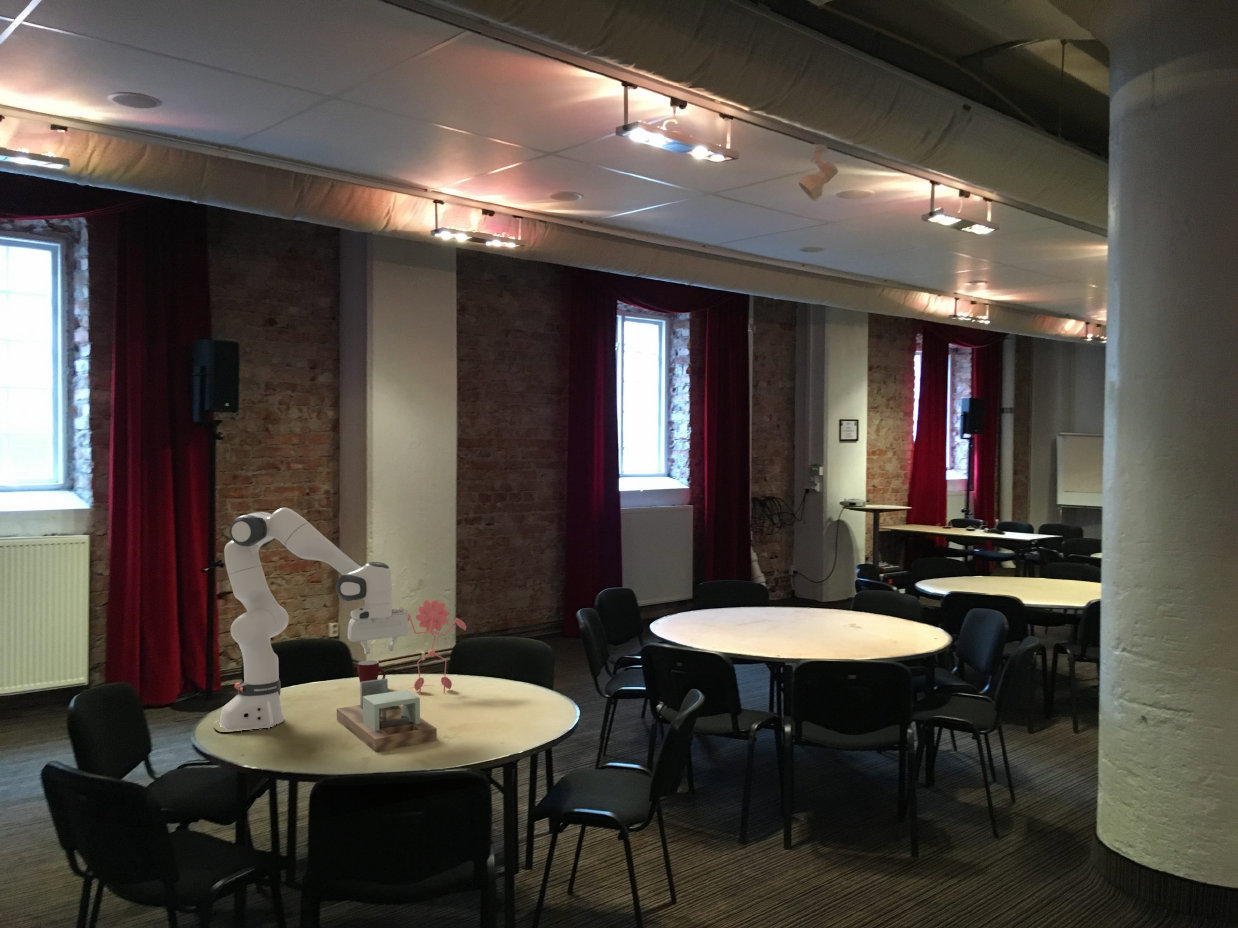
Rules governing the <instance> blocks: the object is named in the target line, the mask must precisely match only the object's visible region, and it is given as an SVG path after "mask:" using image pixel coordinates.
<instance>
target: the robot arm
mask: <svg viewBox="0 0 1238 928" xmlns="http://www.w3.org/2000/svg"><path fill="white" fill-rule="evenodd" d="M228 530H229V537H230V539H231V540H230V541H229V542H227V543H226V544H225V546H224V552H223V553H224V562H225V569H226V571H227V576H228V578H229V582H230V585H231V588H232V589H231V590H232V592H233V596H234V598H235V599H236V600H238V601H240V603H241V604H242V605H243V607H244V608H245V609H246V612H244V613H242V614H240V615H239V616H238V617H236V618H235V619H234V620H233V621H232V624H231V626H230V635H231V637H232V639H233V640H234V642H236V643H237V644H238V646H239V649H240V651H241V656H242V659H243V679H244V681H243V682H241V683H240V682H235V684H234V688H235V689H236V690H237V694H236V695H235V696H234V697H233V698H232V699H231V700H229V702H227V703H226V704H225V705H224V706H223V707H222V709H221V712H220V716H219V717H220V718H219V720H220V723H219V724H220V727H223V728H225V729H227V730H237V729H239V730H240V729H255V728H256V729H257V728H258V729H259V728H268V729H271V728H270V727H272V728H273V727H275V726H276V724H277V725H279V724H282V722H284V721H285V716H284V713H283V710H282V705H281V698H280V696H281V692H282V691H281V680H280V678H279V675H280V673H279V657H278V654H277V653H275V652H274V649H273V647H272V643H271V638H273V637H276V636H278V635H279V634H281V633H282V632H284V630H285V629H286V628H287V627H288V625H289V620H290V619H289V617H290V616H289V614H288V611H287V610H286V609H285V608H284V607H282V605H280V604H279V602H277V600H276V598H275V597H274V595H273V592H271V590H270V587H269V585H268V583H267V579H266V577H265V575H266V574H265V572H264V570H263V566H262V562H261V559H260V555H259V551H260V549H261V548H264V547H267V545H269V544H271V542H274V541H275V540H277V541H278V542H280V543H281V545H283V546H284V547H285V548H286V549H287V550H288V551H289V552H290V553H292V554H293V555H295V556H296V557H297V558H300V559H304V560H314V561H320V562H323V563H326V564H328V565H329V566H331V567H332V568H333V569H334V570H335V571H337V572H338V573H340V574H341V576H340V577H339V578H338V580H337V581H336V584H335V591H336V593H337V595H338V597H339V598H340V599H341V600H343V601H345V602H356V601H358V600H363V601H364V605H362V606H360V607H358V608H355V609H353V610H352V611H350V613H349V614H350V617H351V618H350V620H349V621H348V626H347V639H348V641H349V642H352V643H355V642H360V645H361V646H362V648H363V652H364V655H366V654H367V655H368V654H371V648H370V647H367V643H368V642H367V641H373V640H381V639H383V640H384V639H390V640H391V641H390V643H389V644H387V651H389V652H392V651H394V650H395V649H394V648H395V647H394V646H395V644H396V643H397V641H398V640H397V639H398V637H399V638H400V637H407V636H408V635H409V633H410V627H409V625H410V624H409V621H408V614H409V611H408V610H407V609H405V608H404V607H403V608H395V609H394V608H393V600H392V596H391V595H392V594H391V592H392V573H391V569H390V567H389V565H388V564H386V563H385V562H384V563H383V562H381V561H380V562H379V561H369V562H367V563H365V564H364V565H362V564H360V563H358V562H357V561H356V560H355V559H354V558H352V557H351V556H350V555H349V554H347V553H346V552H345V551H344V550H342V549H341V548H340V547H339V546H337V545H336V544H334V543H333V542H332V541H330V539H328V538H327V537H326V536H324V535H323V534H322V533H321V532H320V531H319V530H318V529H317V528H316V527H315V526H314V525H312V524H311V523H310V522H309V521H308V520H306V519H305V518H304V517H303V516H301V515H300V514H299V513H298V512H296V511H294V510H293V509H291V508H288V507H280V508H278V509H276V510H275V511H273V512H271V511H255V512H251V513H248V514H243V515H240V516H237V517H236V518H235V519H234V520H233V521H231V523H230V525H229V528H228ZM217 721H218V720H216V721H215V722H217ZM259 730H260V729H259Z"/></svg>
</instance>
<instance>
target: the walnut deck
mask: <svg viewBox="0 0 1238 928" xmlns="http://www.w3.org/2000/svg"><path fill="white" fill-rule="evenodd" d="M398 706H399V707H400V708H401V713H403V705H398ZM379 715H380V714H379ZM336 721H337V722H338V723H340V724H341V725H342V726H343V727H344V728H346V730H348V731H349V732H351V734H353V735H354V736H355V737H357V738H358V739H359V740H360V741H362V742H363V743H364V744H365V745H367V747H369V748H370V749H371V750H372V751H374V752H375V753H377V752H383V751H389V750H394V749H400V748H405V747H410V746H415V745H416V746H417V745H421V744H426V743H432V742H437V741H438V736H437V735H438V734H437V733H438V732H437V731H438V729H437V727H435V725H432V724H431V723H429V722H428V721H426V720H424V719H423V718H421V717H420V724H414V723H413V722H411V721H410V723H407V724H401V725H395V726H389V727H383V728H382V727H381V726H380V725H379V731H374V730H372V729H371V728H370V727H369V726H367V725H366V724H365V723H363V709H361V705H360V704H359V705H351V706H345V707H344V706H343V707H339V708H336Z"/></svg>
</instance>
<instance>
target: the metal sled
mask: <svg viewBox="0 0 1238 928" xmlns="http://www.w3.org/2000/svg"><path fill="white" fill-rule="evenodd" d="M388 686H389V685H388V678H386V677H385V679H382V678H379V679H378V680H371V681H363V682H360V681H359V687H360V688H359V692H360V693H359V694H360V704H359V705H361V709H363V696H368V695H374V694H381V693H388V690H389V689H388ZM379 714H380V715H379V725H380V726H381V727H382V728H383V727H389V726H395V725H401V724H407V723H410V719H409V717H407V716H406V715H404V714H403V713H401V719H396V720H390V721H383V720H382V719H381V708H379Z"/></svg>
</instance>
